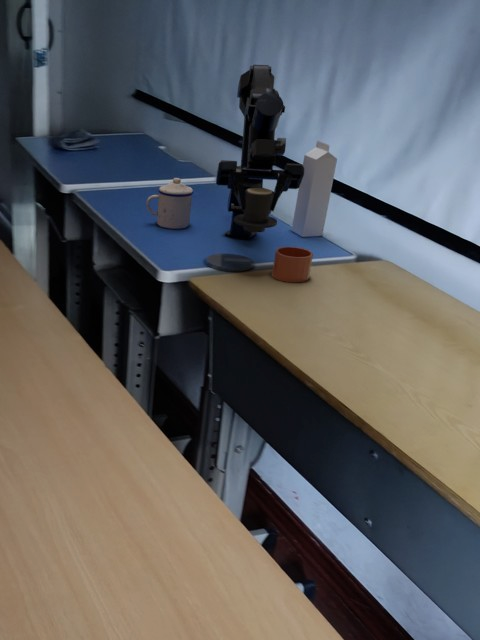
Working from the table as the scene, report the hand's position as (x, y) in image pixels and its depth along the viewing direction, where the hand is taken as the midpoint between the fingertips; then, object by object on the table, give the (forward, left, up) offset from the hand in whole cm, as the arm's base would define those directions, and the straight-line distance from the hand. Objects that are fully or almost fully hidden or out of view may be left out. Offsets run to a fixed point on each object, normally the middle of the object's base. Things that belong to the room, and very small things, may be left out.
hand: (257, 209), depth 184 cm
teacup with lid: (-25, -32, -14) cm, 43 cm away
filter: (-1, -1, -5) cm, 5 cm away
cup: (-2, +9, -14) cm, 17 cm away
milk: (-39, +2, -14) cm, 41 cm away
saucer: (-2, -6, -14) cm, 15 cm away
